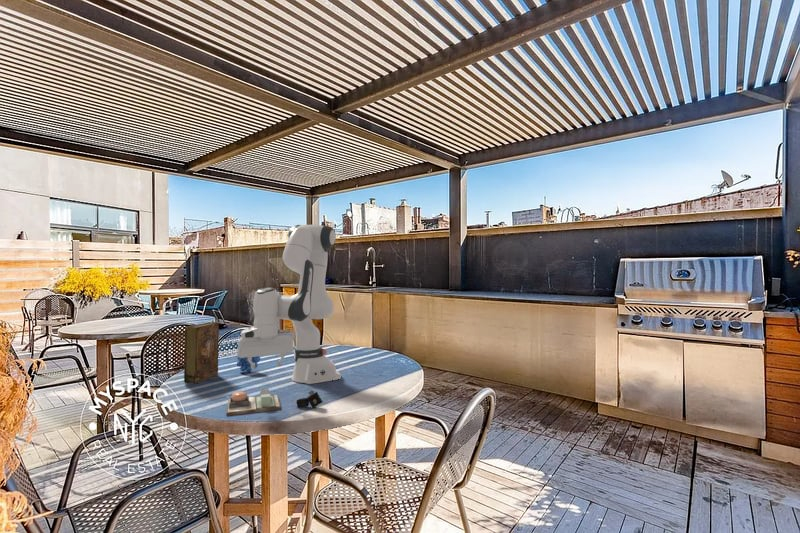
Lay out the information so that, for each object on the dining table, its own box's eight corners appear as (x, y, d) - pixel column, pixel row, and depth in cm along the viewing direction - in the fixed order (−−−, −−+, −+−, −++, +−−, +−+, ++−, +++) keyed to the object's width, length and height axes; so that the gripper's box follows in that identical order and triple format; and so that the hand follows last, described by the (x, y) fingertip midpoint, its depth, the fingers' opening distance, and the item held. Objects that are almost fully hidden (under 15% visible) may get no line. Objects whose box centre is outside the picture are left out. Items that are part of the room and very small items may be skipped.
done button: (246, 397, 145) (246, 390, 145) (246, 401, 140) (246, 395, 140) (232, 398, 143) (232, 392, 143) (231, 403, 138) (231, 396, 138)
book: (209, 374, 185) (210, 322, 185) (219, 374, 184) (220, 322, 184) (184, 383, 169) (184, 326, 169) (194, 384, 168) (195, 327, 168)
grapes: (263, 370, 193) (263, 346, 194) (257, 373, 187) (258, 348, 187) (240, 369, 194) (241, 345, 194) (234, 373, 187) (234, 348, 187)
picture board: (277, 396, 153) (277, 389, 154) (280, 409, 140) (280, 401, 140) (228, 402, 147) (228, 394, 147) (226, 415, 133) (226, 407, 133)
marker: (268, 396, 150) (268, 388, 150) (270, 405, 141) (270, 396, 141) (260, 397, 149) (260, 389, 149) (261, 406, 140) (261, 397, 140)
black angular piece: (301, 415, 141) (293, 402, 141) (303, 413, 143) (295, 400, 144) (321, 403, 141) (313, 390, 141) (322, 401, 143) (314, 388, 143)
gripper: (293, 327, 153) (293, 362, 153) (237, 331, 145) (237, 367, 146) (295, 330, 147) (295, 366, 147) (237, 334, 140) (237, 372, 140)
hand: (266, 367), depth 146 cm, fingers open, 8 cm apart
